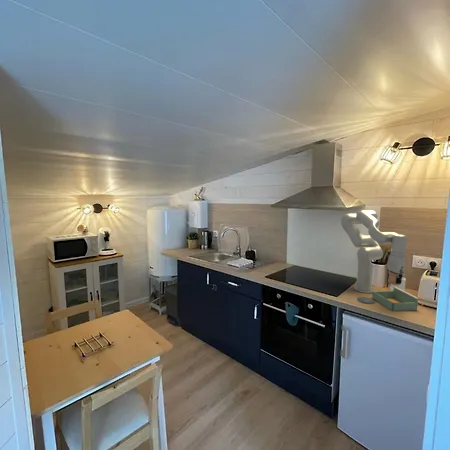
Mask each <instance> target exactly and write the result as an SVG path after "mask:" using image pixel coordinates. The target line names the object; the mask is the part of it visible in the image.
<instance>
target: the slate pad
mask: <svg viewBox="0 0 450 450" xmlns="http://www.w3.org/2000/svg"><path fill="white" fill-rule="evenodd" d="M357 301H358V302H359V303H362V304H367V305H374V304H376V300H375V299H373V298H372V297H371V298H370V297H366V296H359V297H357Z"/></svg>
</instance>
